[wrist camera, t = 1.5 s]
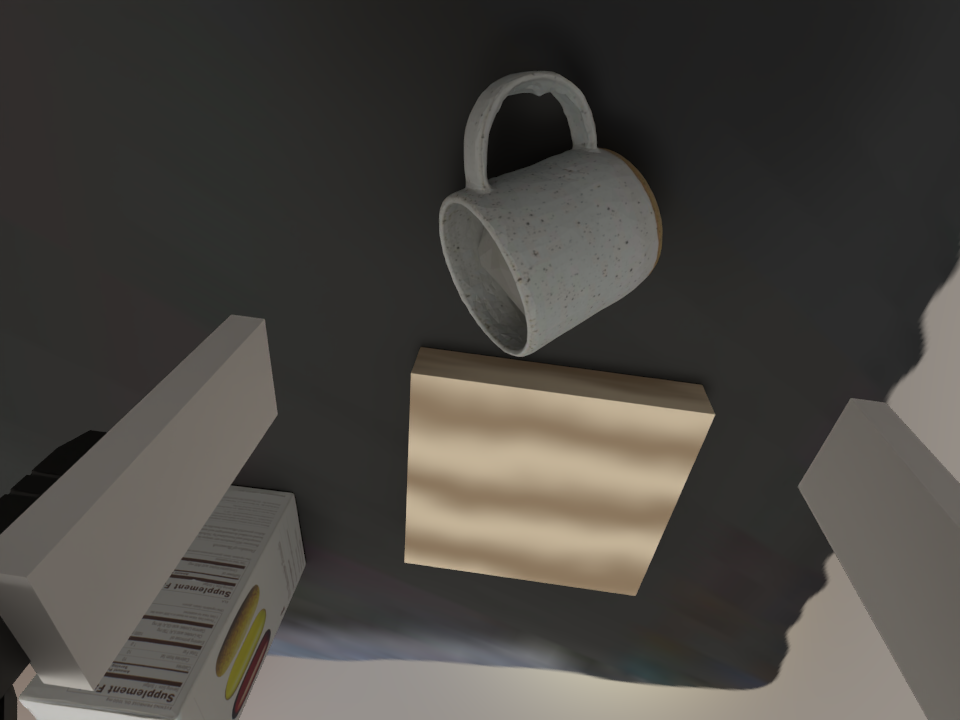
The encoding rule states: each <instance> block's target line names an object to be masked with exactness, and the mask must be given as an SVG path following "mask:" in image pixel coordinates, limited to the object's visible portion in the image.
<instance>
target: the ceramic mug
mask: <svg viewBox="0 0 960 720" xmlns="http://www.w3.org/2000/svg"><path fill="white" fill-rule="evenodd" d="M548 92H551V93H552V94H553V95H554V96H555V98H556V99H557V100H558V101H559V102H560V104H561V106H562V108H563V111H564V114H565V115H566V116H567V119H568V124H569V127H570V130H571V137H572V142H573V148H572V150H568V151H565V152H563V153H561V154H558V155H555V156H552V157H549V158H547V159H545V160H542V161H540V162H538V163H536V164H534V165H531V166H529V167H525V168H523V169H519V170H516V171H513V172H510V173H506V174H503V175H501V176H498V177H493V178H491V179H489V180H488V179H487V148H488V137H489V132H490V129H491V126H492V123H493V121H494V118H495V116H496V113H497V112H498V111H499V109H500V107H501V105H502V102H503V100H504V99H505V98H506V97H507V96H508V95H514V94H519V93H533V94H535V95H537V96H541V95H543V94H545V93H548ZM464 169H465V177H466V187H465V188H464V189H462V190H460V191H457V192H455V193H453V194H451V195H449V196H448V197H447V198H446V199H445V200H444V201H443V203H442V205H441V208H440V214H439V232H440V239H441V244H442V248H443V254H444V256H445V260H446V263H447V266H448V269H449V271H450V273H451V276H452V279H453V282H454V284H455V286H456V288H457V290H458V292H459V295H460V297H461V299H462V301H463V302H464V303H465V305H466V306H467V308H468V310H469V312H470V314H471V315H472V316H473V318H474V319H475V320H476V322H477V324H478V325H479V326H480V327H481V329H482V330H483V331H484V332H485V334H486V335H487V336H488V337H489V338H490V339H491V340H492V341H493V342H494V343H495V344H496V345H497V346H498V347H500V348H501V349H502V350H503V351H504V352H506V353H508V354H510V355H514V356H517V357H524V356H527V355H529V354H531V353H533V352H535V351H536V350H538V349H540V348H541V347H543V346H544V345H546V344H547V343H549V342H551V341H552V340H554V339H555V338H557V337H558V336H560V335H561V334H563V333H565V332H566V331H568V330H570V329H571V328H573V327H575V326H576V325H578V324H580V323H581V322H583V321H584V320H586V319H588V318H589V317H591V316H592V315H594V314H595V313H597V312H599V311H600V310H602V309H604V308H606V307H608V306H609V305H611V304H613V303H615V302H616V301H618V300H620V299H621V298H623V297H624V296H626V295H627V294H628V293H630V292H631V291H632V290H634V289H635V288H636V287H637V286H638V285H639V284H640V283H641V282H642V281H643V280H644V279H645V278H646V277H648V276H649V275H650V273H651V272H652V270H653V269H654V267H655V265H656V264H657V262H658V259H659V256H660V253H661V248H662V220H661V216H660V212H659V208H658V205H657V202H656V199H655V197H654V194H653V192H652V191H651V189H650V187H649V185H648V183H647V181H646V180H645V178H644V177H643V176H642V174H641V173H640V172H639V171H638V170H637V169H636V168H635V167H634V166H633V165H632V164H631V163H630V162H629V161H628V160H627V159H625V158H624V157H623V156H621V155H620V154H618V153H616V152H614V151H611V150H608V149H606V148H597V135H596V129H595V123H594V120H593V116H592V112H591V109H590V107H589V105H588V103H587V101H586V99H585V97H584V95H583V93H582V92H581V90H580V89H579V88H577V87H576V86H575V85H574V84H573V83H572V82H571V81H569V80H568V79H566V78H564V77H563V76H561V75H559V74H557V73H554V72H550V71H528V72H520V73H515V74H510V75H507V76H505V77H503V78H501V79H499V80H497V81H495V82H493V83H492V84H491V85H490V86H489V87H488V88H487V89H486V90H484V91H483V92H482V94H481V95H480V96H479V98H478V100H477V101H476V103H475V105H474V107H473V109H472V111H471V113H470V115H469V118H468V121H467V125H466V128H465V135H464Z"/></svg>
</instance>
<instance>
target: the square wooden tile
mask: <svg viewBox="0 0 960 720" xmlns="http://www.w3.org/2000/svg"><path fill="white" fill-rule="evenodd" d="M714 416H715V413H714V411H713V408H712V406H711V404H710V402H709V399H708V397H707V395H706V393H705V390H704V388H703V386H702V385H699V384H692V383H684V382H677V381H670V380H662V379H655V378H647V377H640V376H632V375H625V374H618V373H610V372H603V371H595V370H588V369H581V368H573V367H566V366H558V365H551V364H543V363H536V362H529V361H521V360H514V359H506V358H499V357H492V356H484V355H477V354H469V353H462V352H454V351H447V350H440V349H432V348H425V347H420V350H419V353H418V355H417V358H416V361H415V364H414V367H413V369H412V372H411V391H410V420H409V449H408V478H407V507H406V536H405V563H412V564H419V565H426V566H433V567H440V568H446V569H453V570H460V571H467V572H474V573H481V574H488V575H495V576H502V577H509V578H516V579H522V580H529V581H536V582H543V583H550V584H557V585H564V586H571V587H578V588H585V589H592V590H598V591H605V592H612V593H619V594H626V595H633V596H636V594H637V591H638V589H639V587H640V584H641V582H642V580H643V578H644V575H645V573H646V571H647V569H648V566H649V564H650V562H651V559H652V557H653V555H654V553H655V550H656V548H657V546H658V543H659V541H660V539H661V537H662V534H663V532H664V530H665V528H666V525H667V523H668V521H669V518H670V516H671V514H672V512H673V509H674V507H675V505H676V503H677V500H678V498H679V496H680V493H681V491H682V489H683V487H684V484H685V482H686V480H687V478H688V475H689V473H690V471H691V468H692V466H693V464H694V462H695V459H696V457H697V455H698V453H699V450H700V448H701V446H702V443H703V441H704V439H705V437H706V434H707V432H708V430H709V428H710V425H711V423H712V421H713V418H714Z"/></svg>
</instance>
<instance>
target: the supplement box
mask: <svg viewBox="0 0 960 720" xmlns="http://www.w3.org/2000/svg"><path fill="white" fill-rule="evenodd" d="M305 565H306V562H305V556H304V550H303V544H302V538H301V532H300V526H299V519H298V513H297V507H296V501H295V497H294V494H293V493H288V492H281V491H273V490H265V489H257V488H248V487H240V486H232V485H230V487H229V488H228V490H227V491H226V493H225V494H224V496H223V497H222V499H221V500H220V502H219V503H218V505H217V506H216V508H215V509H214V511H213V512H212V514H211V515H210V517H209V518H208V520H207V521H206V523H205V524H204V526H203V527H202V529H201V530H200V532H199V533H198V535H197V536H196V538H195V539H194V541H193V542H192V544H191V545H190V547H189V548H188V550H187V551H186V553H185V554H184V556H183V557H182V559H181V560H180V562H179V563H178V565H177V566H176V568H175V569H174V571H173V572H172V574H171V575H170V577H169V578H168V580H167V581H166V583H165V584H164V586H163V587H162V589H161V590H160V592H159V593H158V595H157V596H156V598H155V599H154V601H153V602H152V604H151V605H150V607H149V608H148V610H147V612H146V613H145V615H144V616H143V618H142V619H141V621H140V622H139V624H138V625H137V627H136V628H135V630H134V631H133V633H132V634H131V636H130V637H129V639H128V640H127V642H126V643H125V645H124V646H123V648H122V649H121V651H120V652H119V654H118V655H117V657H116V658H115V660H114V661H113V663H112V664H111V666H110V667H109V669H108V670H107V672H106V673H105V675H104V676H103V678H102V679H101V681H100V682H99V684H98V685H97V687H96V688H95V690H94V691H89V690H83V689H76V688H70V687H63V686H57V685H50V684H44V683H43V682H42V681H41V679H40V678H39V676H38V675H37V674H36V676H35V677H34V678H33V679H32V681H31V682H30V683H29V685H28V686H27V687H26V688H25V690H24V691H23V692H22V694H21V695H20V696H19V700H20V702H21V703H22V704H23V706H24V707H25V708H27V709H28V710H29V711H30V712H31V713H32V715H33V716H34V717H35V718H36V719H37V720H239V718H240V715H241V713H242V711H243V708H244V706H245V703H246V701H247V699H248V697H249V695H250V692H251V690H252V687H253V685H254V683H255V681H256V678H257V676H258V674H259V671H260V669H261V667H262V664H263V662H264V660H265V657H266V655H267V653H268V651H269V648H270V646H271V644H272V641H273V639H274V637H275V634H276V632H277V630H278V628H279V625H280V623H281V621H282V618H283V616H284V614H285V611H286V609H287V607H288V605H289V602H290V600H291V598H292V595H293V593H294V591H295V588H296V586H297V584H298V582H299V579H300V577H301V575H302V572H303V570H304V568H305Z"/></svg>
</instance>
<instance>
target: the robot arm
mask: <svg viewBox="0 0 960 720" xmlns="http://www.w3.org/2000/svg"><path fill="white" fill-rule="evenodd" d="M277 415H278V414H277V407H276V399H275V392H274V384H273V377H272V370H271V362H270V355H269V348H268V340H267V333H266V326H265V319H259V318H252V317H245V316H237V315H231V316H229V317H228V318H227V319H226V320H225V321H224V322H223V323H222V324H221V325H220V326H219V327H218V328H217V329H216V330H215V331H214V332H213V333H212V334H211V335H210V336H208V337H207V338H206V339H205V340H204V341H203V342H202V343H201V344H200V345H199V346H198V347H197V348H196V349H195V350H194V351H193V352H192V353H191V354H190V355H189V356H187V357H186V358H185V359H184V360H183V361H182V362H181V363H180V364H179V365H178V366H177V367H176V368H175V369H174V370H173V371H172V372H171V373H170V374H169V375H167V376H166V377H165V378H164V379H163V380H162V381H161V382H160V383H159V384H158V385H157V386H156V387H155V388H154V389H153V390H152V391H151V392H150V393H149V394H148V395H146V396H145V397H144V398H143V399H142V400H141V401H140V402H139V403H138V404H137V405H136V406H135V407H134V408H133V409H132V410H131V411H130V412H129V413H128V414H127V415H125V416H124V417H123V418H122V419H121V420H120V421H119V422H118V423H117V424H116V425H115V426H114V427H113V428H112V429H111V430H110V431H109V432H108V433H106V432H99V431H92V430H90V431H88V432H86V433H84V434H82V435H80V436H79V437H77V438H75V439H73V440H71V441H69V442H67V443H66V444H64V445H62V446H60V447H58V448H57V449H56V450H54V451H53V452H52V453H51V454H50V455H49V456H48V457H46V458H45V459H44V460H43V461H42V462H41V463H40V464H39V465H37V466H36V467H35V468H34V469H33V470H32V474H31V475H26V476H25V477H24V478H23V479H22V480H20V481H19V482H18V483H17V484H16V485H15V486H14V487H13V488H11V492H10V493H9V494H8V495H7V494H5V495H4V496H2V497H1V498H0V720H17V697H16V694H15V690H14V687H13V685H12V684H13V683H14V682H15V681H16V679H17V678H18V677H19V676H20V674H21V673H22V672H23V670H24V669H25V668H26V667H27V665H28V664H29V663H30V664H31V666H32V667H33V669H34V670H35V672H36V673H37V675H38V676H39V678H40V679H41V681H42V682H43V683H44V684H50V685H57V686H63V687H70V688H76V689H83V690H89V691H94V690H95V688H96V687H97V685H98V684H99V682H100V681H101V679H102V678H103V676H104V675H105V673H106V672H107V670H108V669H109V667H110V666H111V664H112V663H113V661H114V660H115V658H116V657H117V655H118V654H119V652H120V651H121V649H122V648H123V646H124V645H125V643H126V642H127V640H128V639H129V637H130V636H131V634H132V633H133V631H134V630H135V628H136V627H137V625H138V624H139V622H140V621H141V619H142V618H143V616H144V615H145V613H146V612H147V610H148V608H149V607H150V605H151V604H152V602H153V601H154V599H155V598H156V596H157V595H158V593H159V592H160V590H161V589H162V587H163V586H164V584H165V583H166V581H167V580H168V578H169V577H170V575H171V574H172V572H173V571H174V569H175V568H176V566H177V565H178V563H179V562H180V560H181V559H182V557H183V556H184V554H185V553H186V551H187V550H188V548H189V547H190V545H191V544H192V542H193V541H194V539H195V538H196V536H197V535H198V533H199V532H200V530H201V529H202V527H203V526H204V524H205V523H206V521H207V520H208V518H209V517H210V515H211V514H212V512H213V511H214V509H215V508H216V506H217V505H218V503H219V502H220V500H221V499H222V497H223V496H224V494H225V493H226V491H227V490H228V488H229V487H230V485H231V484H232V482H233V481H234V479H235V478H236V476H237V475H238V473H239V472H240V470H241V469H242V467H243V466H244V464H245V463H246V461H247V460H248V458H249V457H250V455H251V454H252V452H253V451H254V449H255V448H256V446H257V445H258V443H259V442H260V440H261V439H262V437H263V436H264V434H265V433H266V431H267V430H268V428H269V427H270V425H271V424H272V422H273V421H274V419H275V418H276V416H277ZM798 488H799V490H800V492H801V493H802V495H803V497H804V499H805V501H806V502H807V504H808V506H809V508H810V510H811V511H812V513H813V515H814V517H815V519H816V520H817V522H818V524H819V526H820V528H821V529H822V531H823V533H824V535H825V536H826V538H827V540H828V542H829V544H830V545H831V547H832V549H833V551H834V553H835V554H836V556H837V558H838V560H839V562H840V563H841V565H842V567H843V569H844V571H845V572H846V574H847V576H848V578H849V579H850V581H851V583H852V585H853V587H854V588H855V590H856V592H857V594H858V596H859V597H860V599H861V601H862V603H863V604H864V606H865V608H866V610H867V612H868V613H869V615H870V617H871V619H872V621H873V622H874V624H875V626H876V628H877V630H878V631H879V633H880V635H881V637H882V638H883V640H884V642H885V644H886V646H887V648H888V649H889V651H890V653H891V655H892V656H893V658H894V660H895V662H896V664H897V666H898V667H899V669H900V671H901V672H902V674H903V676H904V678H905V680H906V682H907V683H908V685H909V687H910V689H911V690H912V692H913V694H914V696H915V698H916V699H917V701H918V703H919V705H920V706H921V708H922V710H923V712H924V714H925V716H926V717H927V719H928V720H960V483H959V482H958V481H957V480H956V479H955V478H954V477H953V476H952V475H951V473H950V472H949V471H948V470H947V469H946V468H945V467H944V466H943V465H942V464H941V463H940V462H939V460H938V459H937V458H936V457H935V456H934V455H933V454H932V453H931V452H930V450H928V448H927V447H926V446H925V445H924V444H923V443H922V442H921V441H920V440H919V439H918V437H917V436H916V435H915V434H914V433H913V432H912V431H911V430H910V429H909V427H908V426H907V425H906V424H905V423H904V422H903V421H902V420H901V419H900V418H899V416H898V415H897V414H896V413H895V412H894V411H893V410H892V409H891V408H890V407H889V406H888V404H887V403H883V402H876V401H869V400H861V399H854V398H851V399H850V400H849V402H848V404H847V405H846V407H845V409H844V410H843V412H842V414H841V415H840V417H839V419H838V420H837V422H836V424H835V425H834V427H833V429H832V430H831V432H830V434H829V435H828V437H827V439H826V440H825V442H824V444H823V445H822V447H821V449H820V450H819V452H818V454H817V455H816V457H815V459H814V460H813V462H812V464H811V465H810V467H809V469H808V470H807V472H806V474H805V475H804V477H803V479H802V480H801V482H800V484H799V485H798Z"/></svg>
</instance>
